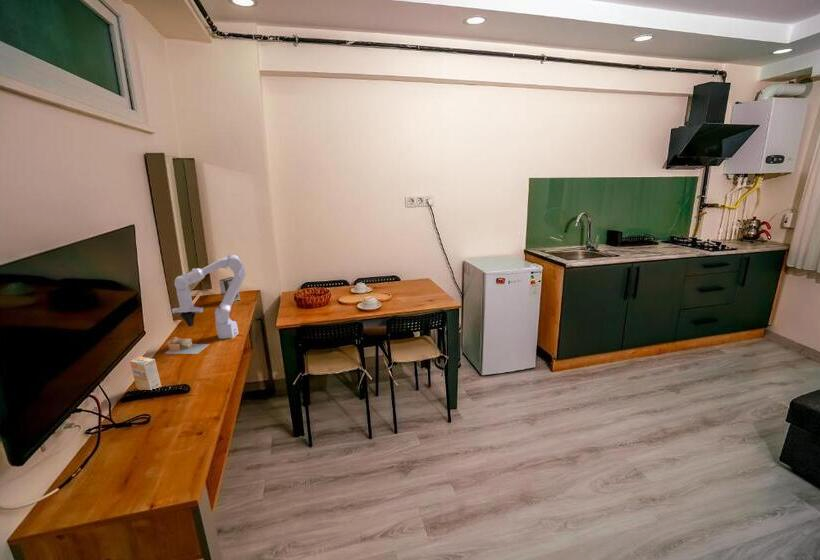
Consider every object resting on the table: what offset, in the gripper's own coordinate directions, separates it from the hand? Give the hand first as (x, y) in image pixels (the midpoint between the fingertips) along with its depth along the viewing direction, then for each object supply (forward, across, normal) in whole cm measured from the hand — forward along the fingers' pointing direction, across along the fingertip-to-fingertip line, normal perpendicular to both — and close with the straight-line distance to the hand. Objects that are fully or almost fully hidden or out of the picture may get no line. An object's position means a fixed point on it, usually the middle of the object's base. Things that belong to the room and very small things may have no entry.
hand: (190, 325), depth 187 cm
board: (+10, 0, +7) cm, 12 cm away
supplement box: (+10, -4, +40) cm, 42 cm away
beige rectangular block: (+9, +3, +5) cm, 11 cm away
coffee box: (+10, +10, -62) cm, 64 cm away
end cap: (+9, +5, +6) cm, 12 cm away
